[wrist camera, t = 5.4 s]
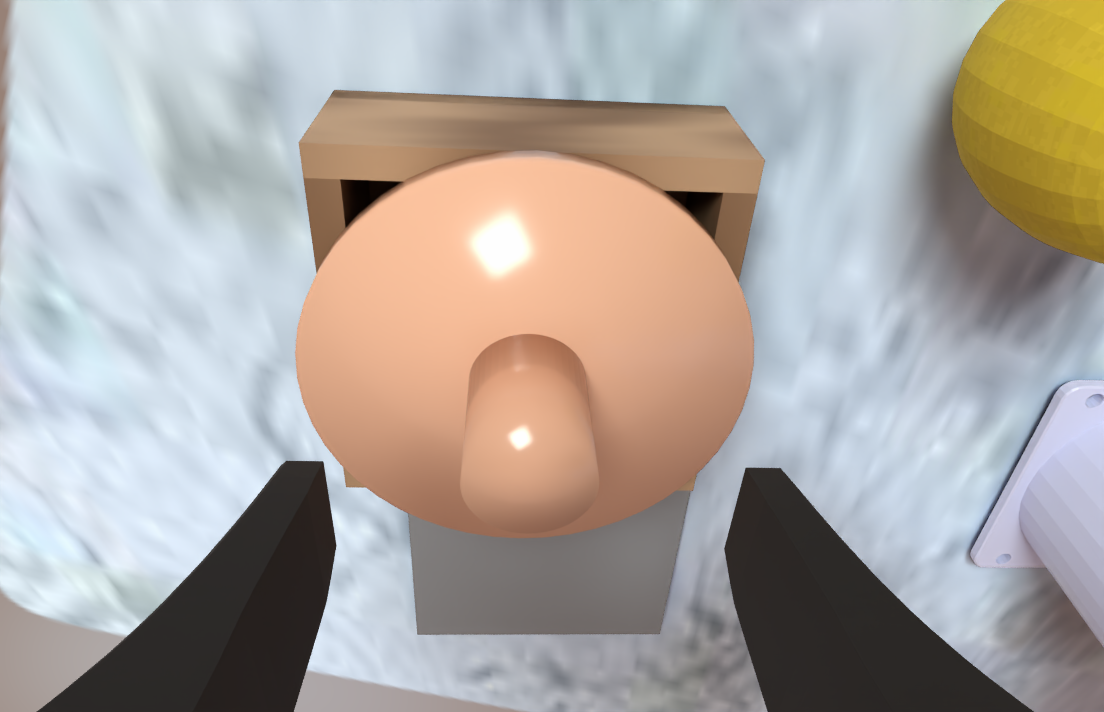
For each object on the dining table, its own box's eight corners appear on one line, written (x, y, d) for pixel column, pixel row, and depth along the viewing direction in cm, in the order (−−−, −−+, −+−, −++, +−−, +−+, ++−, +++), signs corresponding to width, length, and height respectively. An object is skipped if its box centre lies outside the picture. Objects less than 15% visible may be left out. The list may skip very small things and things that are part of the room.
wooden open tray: (725, 106, 18) (764, 160, 15) (670, 407, 23) (692, 490, 20) (334, 90, 17) (298, 143, 15) (367, 402, 22) (346, 487, 20)
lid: (791, 161, 15) (867, 254, 12) (704, 517, 21) (740, 647, 17) (272, 139, 14) (201, 231, 11) (329, 513, 20) (292, 647, 17)
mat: (695, 445, 24) (698, 454, 24) (657, 624, 29) (659, 634, 29) (404, 441, 23) (403, 450, 23) (418, 625, 29) (417, 634, 28)
